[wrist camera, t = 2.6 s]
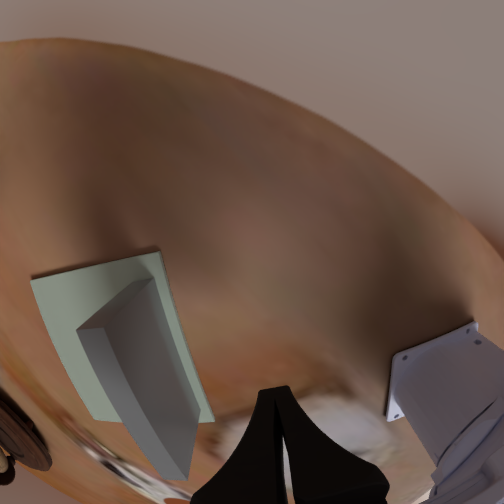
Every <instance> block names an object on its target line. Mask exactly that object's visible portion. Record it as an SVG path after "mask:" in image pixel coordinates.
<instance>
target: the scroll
mask: <svg viewBox="0 0 504 504" xmlns="http://www.w3.org/2000/svg"><path fill="white" fill-rule="evenodd" d="M32 428H33V422H32V421H31V420H30V421H27V422H26V423H24V422H23V421H22V420H21V419H20V418H19V417H18V416H17V415H16V414H15V413H14V412H13V411H12V410H11V409H10V408H9V407H8V406H7V405H6V404H5V403H4V402H3V401H1V400H0V446H1V447H2V448H3V449H4V450H6V451H7V452H8V453H9V454H10V455H11V456H5V454H4V452H3V451H2V449H1V447H0V485H8V484H10V483H11V482H13V480H14V478H15V469H14V465H15V460H18V461H20V462H21V463H23V464H24V465H26V466H28V467H30V468H33V469H37V470H40V471H48V470H49V469H50V467H51V466H52V459H51V456H50V454H49V453H48V451H47V450H46V448H45V447H44V445H43V444H42V443H41V441H40V440H39V439H38V438H37V436H36V435H35V434H34V433H33V432H32V431H31V430H32Z"/></svg>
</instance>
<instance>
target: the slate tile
mask: <svg viewBox="0 0 504 504" xmlns="http://www.w3.org/2000/svg"><path fill="white" fill-rule="evenodd" d="M76 332H77V335H78V337H79V340H80V342H81V344H82V346H83V349H84V351H85V353H86V355H87V358H88V360H89V362H90V364H91V366H92V368H93V370H94V372H95V374H96V376H97V378H98V380H99V382H100V384H101V386H102V388H103V389H104V391H105V393H106V395H107V397H108V399H109V400H110V402H111V404H112V406H113V407H114V409H115V411H116V412H117V414H118V416H119V417H120V419H121V421H122V422H123V424H124V425H125V427H126V428H127V430H128V431H129V433H130V435H131V436H132V438H133V439H134V440H135V442H136V443H137V445H138V446H139V448H140V449H141V450H142V452H143V453H144V455H145V456H146V457H147V459H148V460H149V461H150V463H151V464H152V465H153V467H154V468H155V469H156V470H157V472H158V473H159V474H160V475H161V477H162V478H163V479H167V480H186V481H188V476H189V470H190V465H191V459H192V454H193V448H194V443H195V438H196V433H197V427H198V422H199V417H200V412H201V409H200V407H199V404H198V402H197V400H196V397H195V395H194V392H193V390H192V387H191V385H190V382H189V380H188V377H187V375H186V372H185V369H184V367H183V364H182V361H181V359H180V356H179V353H178V350H177V348H176V345H175V342H174V339H173V336H172V333H171V330H170V327H169V324H168V321H167V318H166V315H165V312H164V308H163V305H162V302H161V298H160V295H159V292H158V288H157V285H156V281H155V278H150V279H144V280H139V281H133V282H131V283H130V284H129V285H128V286H127V287H125V288H124V289H123V290H122V291H120V292H119V293H118V294H117V295H116V296H114V297H113V298H112V299H111V300H110V301H109V302H107V303H106V304H105V305H104V306H103V307H101V308H100V309H99V310H98V311H97V312H96V313H94V314H93V315H92V316H91V317H90V318H89V319H88V320H86V321H85V322H84V323H83V324H82V325H81V326H80V327H78V328H77V329H76Z"/></svg>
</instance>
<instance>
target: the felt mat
mask: <svg viewBox="0 0 504 504" xmlns="http://www.w3.org/2000/svg"><path fill="white" fill-rule="evenodd" d="M150 278H155V281H156V285H157V288H158V292H159V295H160V298H161V302H162V305H163V308H164V312H165V315H166V318H167V321H168V324H169V327H170V330H171V333H172V336H173V339H174V342H175V345H176V348H177V350H178V353H179V356H180V359H181V361H182V364H183V367H184V369H185V372H186V375H187V377H188V380H189V382H190V385H191V387H192V390H193V392H194V395H195V397H196V400H197V402H198V404H199V407H200V409H201V412H200V417H199V422H198V423H202V422H215V417H214V415H213V412H212V410H211V407H210V405H209V402H208V400H207V397H206V394H205V392H204V389H203V387H202V384H201V381H200V379H199V376H198V373H197V370H196V367H195V365H194V362H193V359H192V356H191V353H190V350H189V347H188V344H187V341H186V338H185V335H184V332H183V329H182V326H181V323H180V319H179V316H178V313H177V309H176V306H175V303H174V299H173V296H172V292H171V289H170V285H169V282H168V278H167V274H166V270H165V267H164V263H163V259H162V255H161V251H157V252H152V253H148V254H143V255H138V256H134V257H129V258H125V259H120V260H115V261H111V262H106V263H102V264H97V265H93V266H89V267H84V268H80V269H75V270H71V271H67V272H62V273H58V274H54V275H50V276H46V277H41V278H37V279H33V280H31V281H30V283H31V286H32V289H33V292H34V295H35V298H36V301H37V304H38V307H39V309H40V312H41V315H42V318H43V320H44V323H45V325H46V328H47V330H48V333H49V335H50V337H51V340H52V342H53V344H54V346H55V349H56V351H57V353H58V355H59V357H60V359H61V361H62V363H63V365H64V367H65V369H66V371H67V373H68V375H69V377H70V379H71V381H72V383H73V385H74V386H75V388H76V390H77V392H78V393H79V395H80V397H81V399H82V400H83V402H84V404H85V405H86V407H87V409H88V410H89V412H90V413H91V415H92V416H93V418H94V420H102V421H112V422H122V421H121V419H120V417H119V416H118V414H117V412H116V411H115V409H114V407H113V406H112V404H111V402H110V400H109V399H108V397H107V395H106V393H105V391H104V389H103V388H102V386H101V384H100V382H99V380H98V378H97V376H96V374H95V372H94V370H93V368H92V366H91V364H90V362H89V360H88V358H87V355H86V353H85V351H84V349H83V346H82V344H81V342H80V340H79V337H78V335H77V332H76V329H77V328H78V327H80V326H81V325H82V324H83V323H84V322H85V321H86V320H88V319H89V318H90V317H91V316H92V315H93V314H94V313H96V312H97V311H98V310H99V309H100V308H101V307H103V306H104V305H105V304H106V303H107V302H109V301H110V300H111V299H112V298H113V297H114V296H116V295H117V294H118V293H119V292H120V291H122V290H123V289H124V288H125V287H127V286H128V285H129V284H130V283H131V282H133V281H139V280H144V279H150Z"/></svg>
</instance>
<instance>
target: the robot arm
mask: <svg viewBox="0 0 504 504" xmlns="http://www.w3.org/2000/svg"><path fill="white" fill-rule="evenodd" d="M477 330H478V323H477V322H476V321H473V322H471V323H469V324H467V325H465V326H463V327H461V328H459V329H456V330H454V331H452V332H450V333H447V334H445V335H443V336H440V337H438V338H436V339H433V340H431V341H428V342H426V343H423V344H421V345H418V346H415V347H413V348H410V349H407V350H405V351H402V352H399V353H397V354H395V355H394V357H393V359H392V370H391V380H390V389H389V398H388V405H387V412H386V420H387V421H389V422H390V421H393V420H395V419H398V418H401V417H403V416H405V417H406V418H407V420H408V422H409V423H410V425H411V426H412V428H413V430H414V431H415V433H416V434H417V436H418V438H419V439H420V441H421V442H422V444H423V446H424V447H425V449H426V450H427V452H428V454H429V455H430V457H431V459H432V460H433V462H434V464H435V465H436V467H437V469H436V470H435V471H434V472H433V473H432V474H431V477H432V479H433V481H434V483H435V485H434V486H433V488H432V489H431V491H430V495H429V499H427V500H425V501H423V502H421V503H419V504H504V351H503V350H502V349H501V348H499V347H498V346H496V345H495V344H494V343H492V342H491V341H490V340H488V339H487V338H485V337H484V336H483V335H481V334H480V333H478V332H477ZM404 356H405V357H404ZM403 357H404V358H403ZM283 438H284V441H285V445H286V449H287V452H288V458H289V465H290V472H291V480H292V488H293V496H294V500H295V504H387V501H386V499H385V498H386V495H387V493H388V491H389V488H390V485H389V482H388V480H387V479H386V477H385V476H384V474H383V473H382V472H381V471H380V469H379V468H378V467H377V466H376V465H374V464H372V463H369V462H367V461H365V460H363V459H361V458H359V457H357V456H355V455H354V454H352V453H350V452H349V451H347V450H346V449H344V448H343V447H341V446H340V445H338V444H337V443H335V442H334V441H333V440H332V439H330V438H329V437H328V436H327V435H326V434H325V433H323V432H322V431H321V430H320V429H319V428H318V427H317V426H316V425H315V424H314V423H313V421H312V420H311V419H310V418H309V417H308V416H307V415H306V413H305V412H304V411H303V409H302V408H301V407H300V405H299V404H298V402H297V401H296V399H295V398H294V396H293V394H292V392H291V390H290V387H289V386H287V385H286V386H280V387H275V388H269V389H263V390H260V391H259V392H258V398H257V402H256V406H255V409H254V412H253V414H252V417H251V420H250V422H249V425H248V427H247V429H246V431H245V433H244V435H243V437H242V439H241V441H240V442H239V444H238V446H237V447H236V449H235V450H234V452H233V453H232V455H231V456H230V458H229V459H228V460H227V462H226V463H225V464H224V465H223V466H222V468H221V469H220V470H219V471H218V472H217V473H216V474H215V475H214V476H213V477H212V478H211V479H210V480H209V481H208V482H207V483H206V484H205V485H204V486H202V487H201V488H200V489H199V490H198V491H197V492H195V493H194V494H193V496H192V498H191V501H190V504H288V499H287V493H286V486H285V479H284V461H283Z"/></svg>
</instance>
